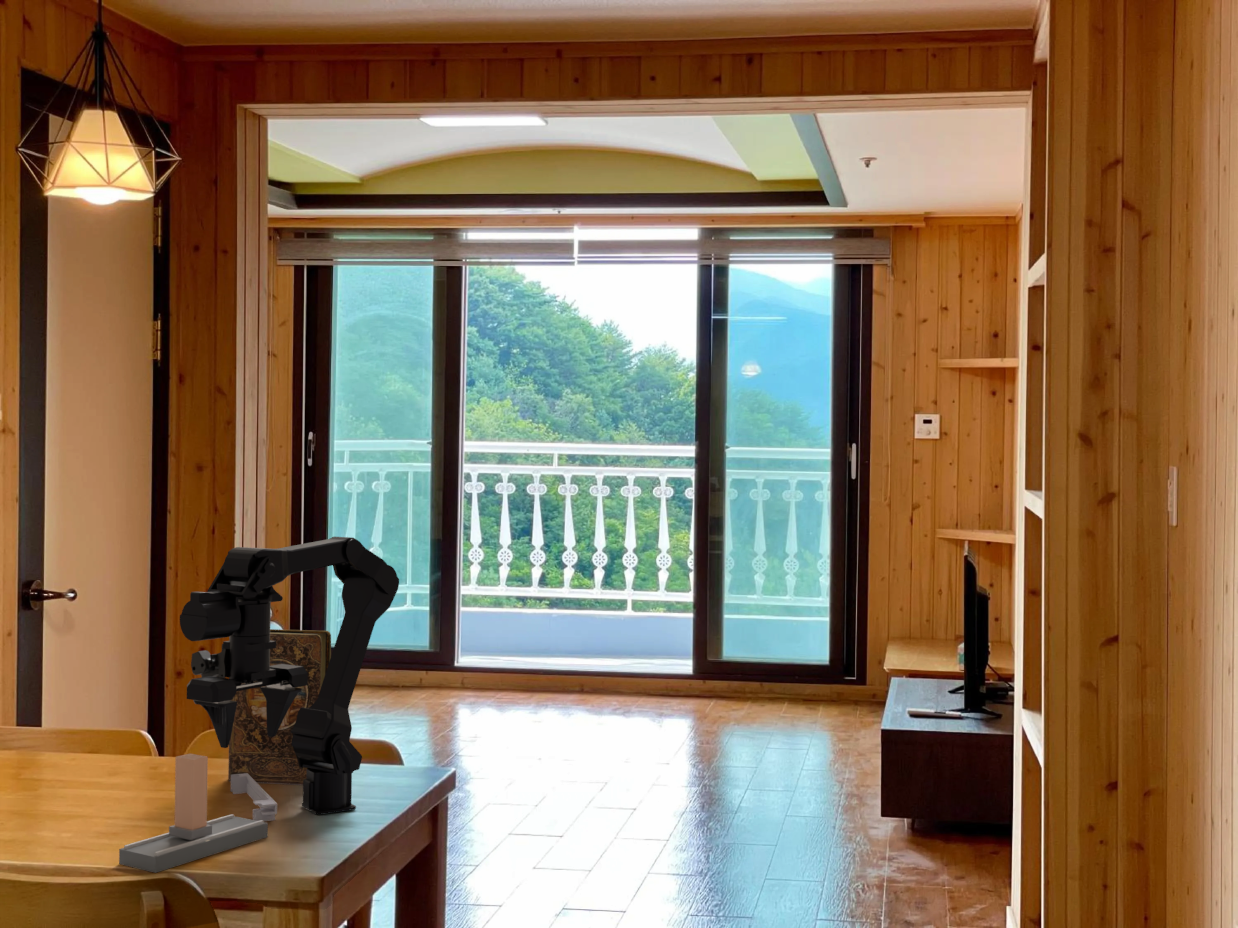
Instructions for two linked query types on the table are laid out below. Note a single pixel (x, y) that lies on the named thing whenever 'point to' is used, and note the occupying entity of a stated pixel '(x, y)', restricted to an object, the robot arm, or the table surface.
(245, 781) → the door handle
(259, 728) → the book
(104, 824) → the table surface
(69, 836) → the table surface
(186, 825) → the fader
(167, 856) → the grey slider rail base
